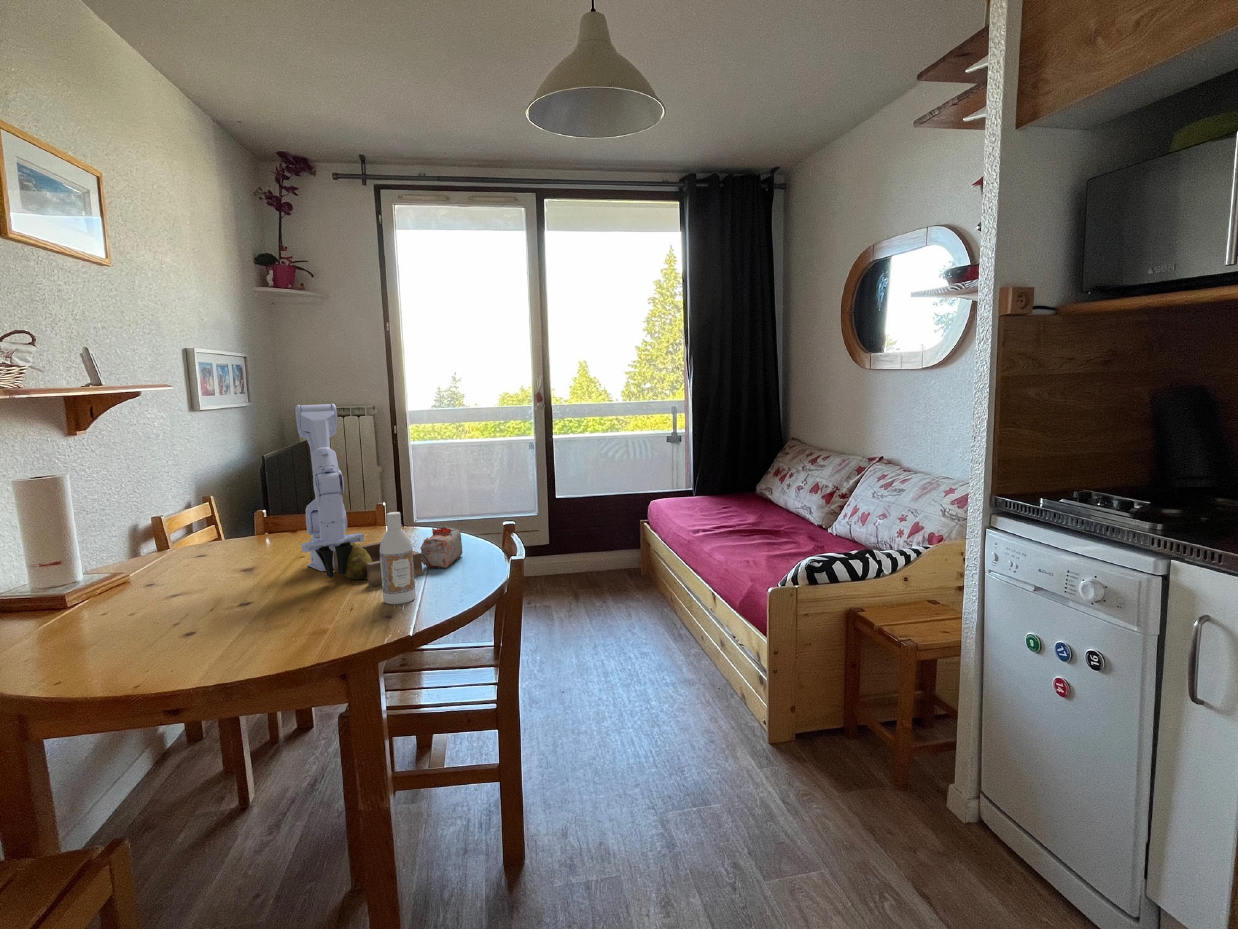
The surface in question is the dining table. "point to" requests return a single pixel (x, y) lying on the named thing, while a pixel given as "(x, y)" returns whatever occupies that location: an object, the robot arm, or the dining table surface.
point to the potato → (357, 562)
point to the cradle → (375, 566)
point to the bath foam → (396, 563)
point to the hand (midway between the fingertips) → (336, 575)
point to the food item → (441, 548)
